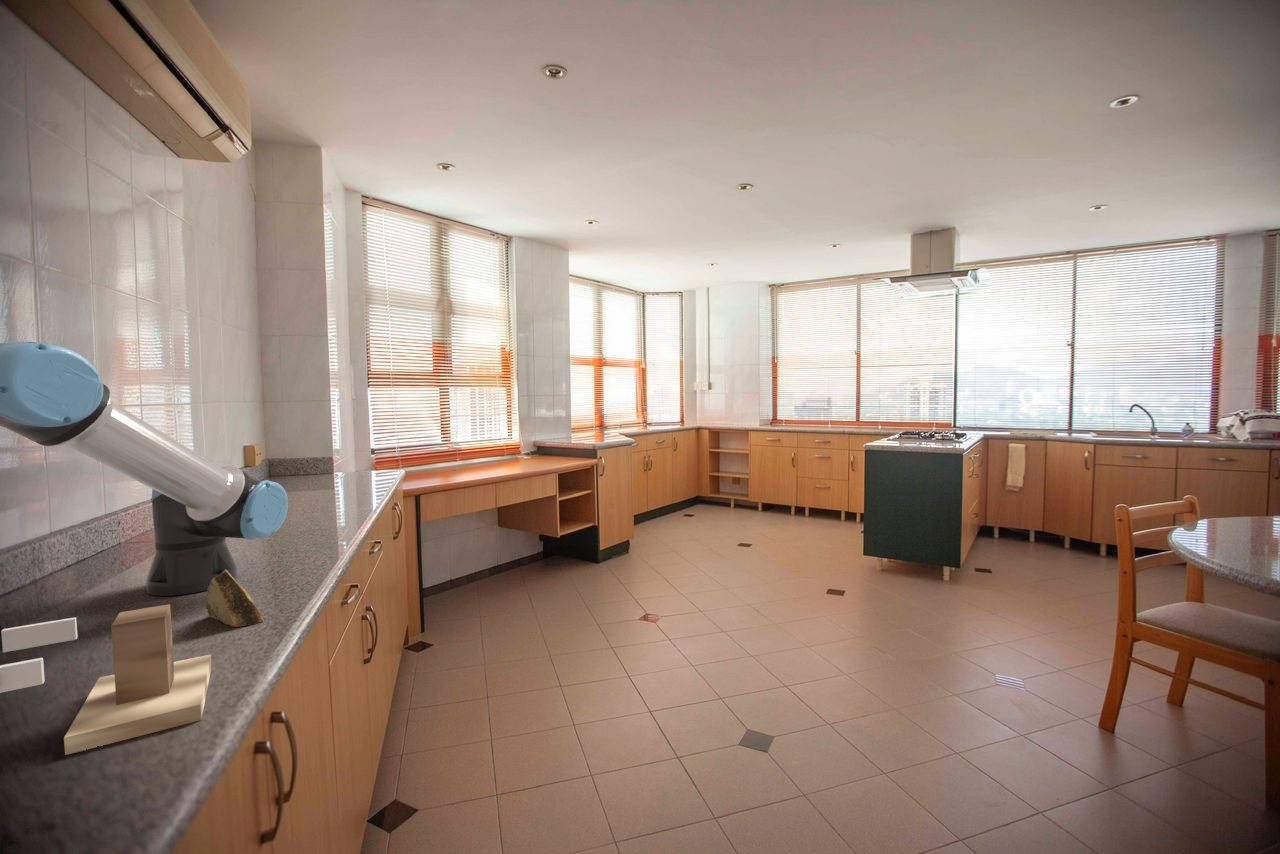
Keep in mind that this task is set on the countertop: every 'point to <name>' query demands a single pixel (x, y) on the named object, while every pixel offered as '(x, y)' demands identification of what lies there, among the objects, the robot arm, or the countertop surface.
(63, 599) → the countertop surface
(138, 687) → the walnut block
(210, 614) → the rock
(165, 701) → the cutting board
